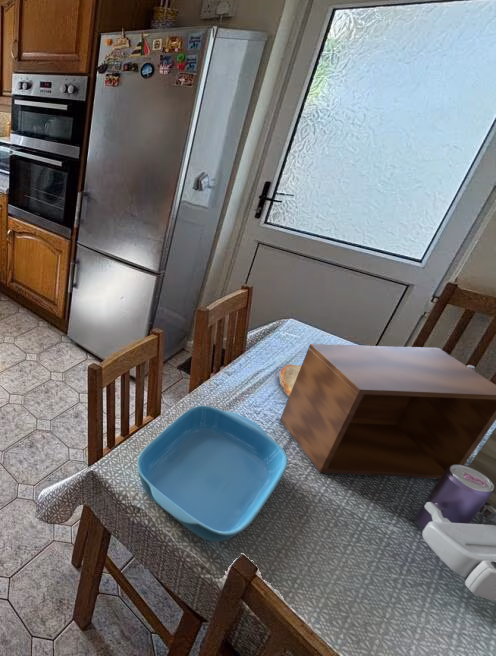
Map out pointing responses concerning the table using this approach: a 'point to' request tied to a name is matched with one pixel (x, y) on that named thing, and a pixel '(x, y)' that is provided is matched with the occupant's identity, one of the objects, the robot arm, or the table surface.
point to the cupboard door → (487, 463)
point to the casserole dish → (212, 471)
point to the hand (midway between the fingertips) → (456, 505)
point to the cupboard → (387, 410)
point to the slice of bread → (288, 377)
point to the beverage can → (457, 495)
